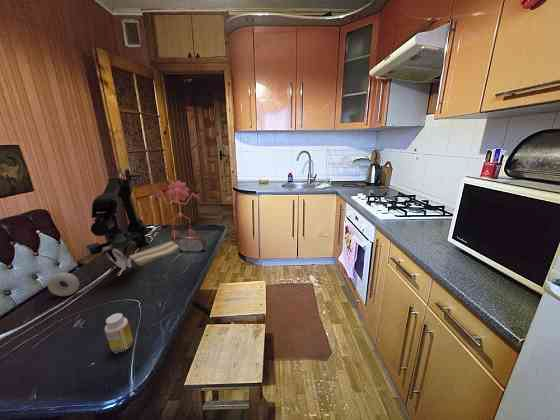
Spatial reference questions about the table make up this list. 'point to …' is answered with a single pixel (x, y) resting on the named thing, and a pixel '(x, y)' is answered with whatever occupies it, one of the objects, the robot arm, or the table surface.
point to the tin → (191, 243)
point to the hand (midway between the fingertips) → (119, 260)
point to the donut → (66, 277)
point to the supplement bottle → (118, 333)
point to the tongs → (120, 259)
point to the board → (154, 253)
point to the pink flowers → (178, 193)
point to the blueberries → (79, 323)
